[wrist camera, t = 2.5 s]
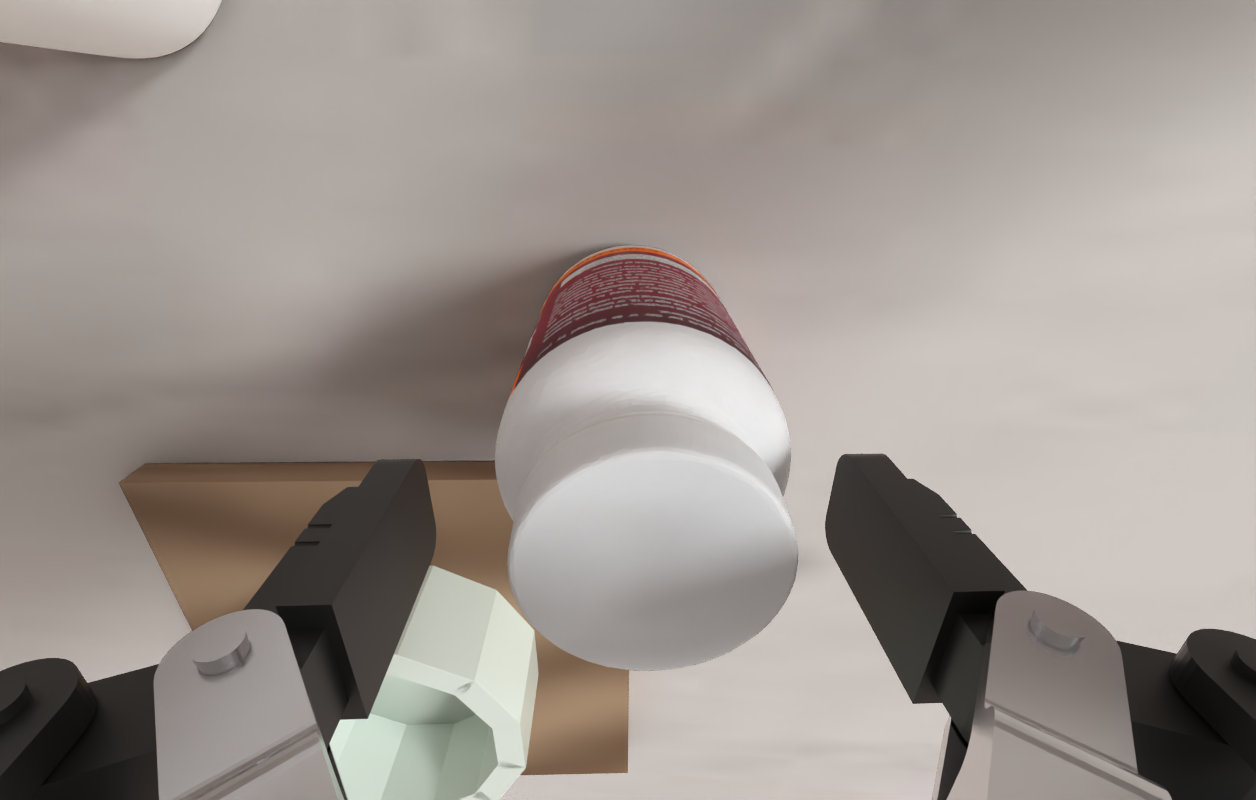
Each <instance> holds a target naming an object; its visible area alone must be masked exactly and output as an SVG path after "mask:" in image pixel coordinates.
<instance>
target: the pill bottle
mask: <svg viewBox="0 0 1256 800" xmlns="http://www.w3.org/2000/svg"><path fill="white" fill-rule="evenodd" d="M790 462H791V447H790V438H789V431H788V427H787V423H786V419H785V416H784V414H783V411H782V409H781V407H780V404H779V402H778V400H777V398H776V396H775V394H774V392H773V389H772V387H771V385H770V384H769V382H768V380H767V379H766V377H765V375H764V374H763V372H762V371H761V369H760V367H759V365H758V364H757V362H756V360H755V359H754V357H753V355H752V354H751V352H750V350H749V348H748V347H747V345H746V343H745V342H744V340H743V338H742V337H741V335H740V333H739V331H738V329H737V328H736V326H735V324H734V323H733V321H732V319H731V318H730V316H729V314H728V312H727V311H726V309H725V307H724V306H723V304H722V302H721V301H720V299H719V297H718V295H717V294H716V292H715V291H714V289H713V288H712V287H711V285H710V284H709V283H708V282H707V281H706V279H705V278H704V277H703V276H702V275H701V274H700V273H699V272H698V271H697V270H696V269H695V268H694V267H692V266H691V265H690V264H689V263H687V262H686V261H684V260H683V259H681V258H680V257H678V256H676V255H674V254H672V253H669V252H667V251H664V250H661V249H657V248H653V247H648V246H638V245H627V246H618V247H612V248H608V249H604V250H601V251H598V252H595V253H593V254H591V255H589V256H587V257H585V258H584V259H582V260H580V261H579V262H578V263H576V264H575V265H573V266H572V267H571V268H570V269H568V270H567V271H566V272H565V273H564V274H563V275H562V276H561V278H560V279H559V280H558V281H557V283H556V284H555V285H554V287H553V288H552V290H551V291H550V293H549V295H548V297H547V299H546V301H545V303H544V305H543V307H542V310H541V312H540V315H539V318H538V321H537V324H536V326H535V329H534V332H533V334H532V337H531V339H530V341H529V346H528V348H527V351H526V353H525V356H524V359H523V361H522V364H521V367H520V370H519V372H518V375H517V377H516V380H515V383H514V385H513V388H512V391H511V394H510V396H509V399H508V401H507V404H506V407H505V410H504V413H503V417H502V420H501V423H500V426H499V430H498V435H497V440H496V449H495V469H496V477H497V482H498V486H499V490H500V494H501V497H502V500H503V502H504V505H505V507H506V509H507V511H508V513H509V515H510V516H511V518H512V520H513V528H512V533H511V538H510V543H509V548H508V559H507V565H508V575H509V583H510V586H511V589H512V592H513V595H514V598H515V600H516V603H517V605H518V606H519V608H520V610H521V612H522V613H523V615H524V616H525V618H526V619H527V620H528V621H529V623H530V624H531V625H532V626H533V627H534V628H535V629H536V630H537V631H538V632H539V633H540V634H541V635H543V636H544V637H545V638H546V639H548V640H549V641H550V642H552V643H553V644H554V645H556V646H557V647H559V648H560V649H562V650H564V651H566V652H567V653H570V654H572V655H574V656H576V657H579V658H581V659H583V660H586V661H588V662H592V663H595V664H599V665H602V666H606V667H612V668H618V669H624V670H633V671H655V670H668V669H677V668H682V667H687V666H692V665H696V664H699V663H703V662H706V661H709V660H711V659H714V658H716V657H719V656H722V655H724V654H726V653H728V652H730V651H732V650H733V649H735V648H737V647H738V646H740V645H742V644H743V643H745V642H747V641H748V640H750V639H751V638H752V637H754V636H755V635H757V634H758V633H759V632H760V631H761V630H763V629H764V628H765V627H766V626H767V625H768V624H769V623H770V622H771V621H772V619H773V618H774V617H775V616H776V615H777V614H778V612H779V611H780V609H781V608H782V606H783V605H784V603H785V601H786V599H787V598H788V596H789V594H790V591H791V589H792V587H793V584H794V581H795V577H796V572H797V565H798V546H797V540H796V534H795V531H794V528H793V524H792V521H791V518H790V516H789V513H788V510H787V508H786V505H785V502H784V499H783V495H784V492H785V489H786V486H787V482H788V477H789V471H790Z"/></svg>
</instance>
